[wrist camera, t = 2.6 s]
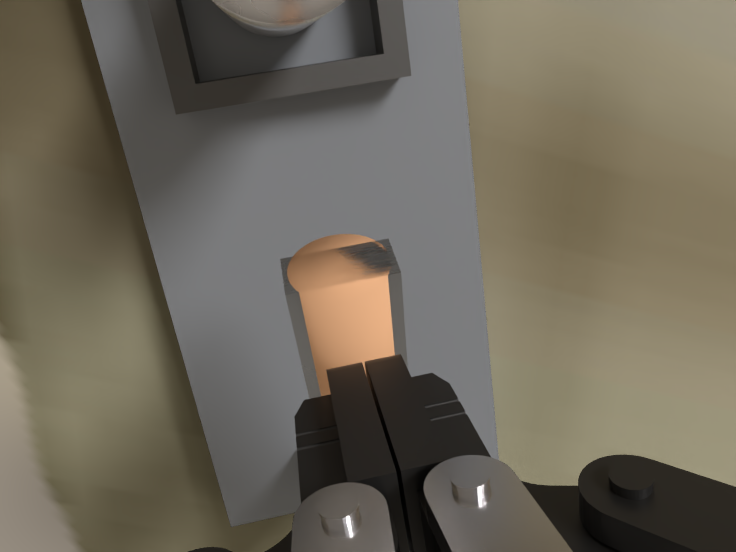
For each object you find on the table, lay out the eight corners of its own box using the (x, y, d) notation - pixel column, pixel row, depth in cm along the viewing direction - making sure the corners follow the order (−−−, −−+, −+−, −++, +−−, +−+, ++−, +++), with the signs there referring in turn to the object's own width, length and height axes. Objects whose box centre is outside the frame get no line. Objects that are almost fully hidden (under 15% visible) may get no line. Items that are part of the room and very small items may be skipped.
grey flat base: (-3, -341, 18) (-220, -657, 10) (409, -382, 19) (512, -697, 11) (232, 503, 28) (219, 678, 20) (488, 447, 29) (569, 592, 21)
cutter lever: (278, 245, 14) (287, 311, 12) (383, 225, 14) (406, 288, 12) (355, 581, 25) (365, 641, 23) (413, 568, 25) (427, 625, 24)
